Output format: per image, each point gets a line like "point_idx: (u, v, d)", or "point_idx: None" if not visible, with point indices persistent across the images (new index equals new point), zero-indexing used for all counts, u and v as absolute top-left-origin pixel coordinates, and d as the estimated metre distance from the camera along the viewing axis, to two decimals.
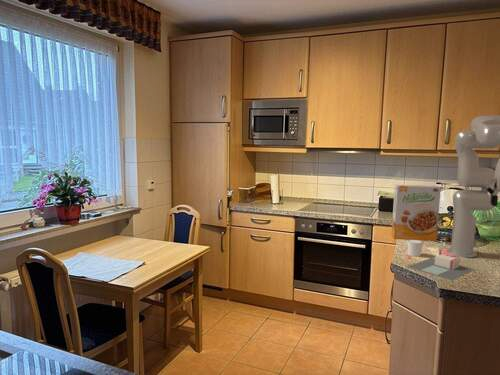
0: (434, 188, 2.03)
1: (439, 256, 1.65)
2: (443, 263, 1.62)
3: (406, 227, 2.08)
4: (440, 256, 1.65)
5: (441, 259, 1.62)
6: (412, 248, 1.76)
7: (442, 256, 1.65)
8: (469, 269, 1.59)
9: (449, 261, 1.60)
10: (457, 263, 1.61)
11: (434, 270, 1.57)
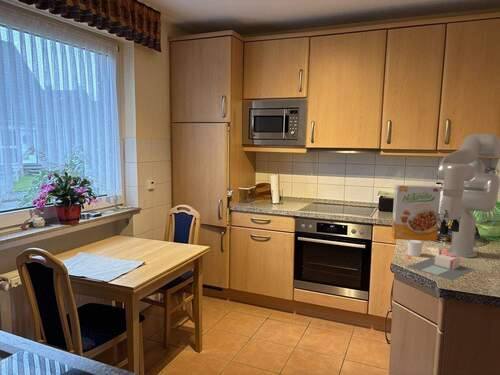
0: (434, 188, 2.03)
1: (439, 256, 1.65)
2: (443, 263, 1.62)
3: (406, 227, 2.08)
4: (440, 256, 1.65)
5: (441, 259, 1.62)
6: (412, 248, 1.76)
7: (442, 256, 1.65)
8: (469, 269, 1.59)
9: (449, 261, 1.60)
10: (457, 263, 1.61)
11: (434, 270, 1.57)
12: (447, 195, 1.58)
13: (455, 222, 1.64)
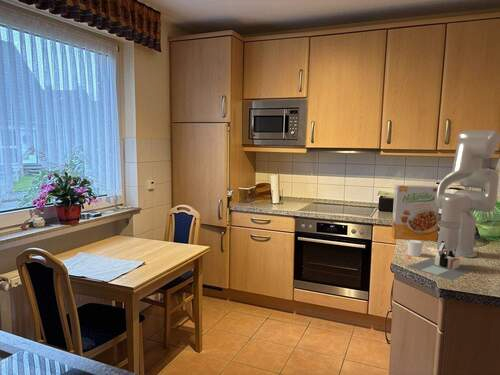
0: (434, 188, 2.03)
1: (439, 256, 1.65)
2: None
3: (406, 227, 2.08)
4: None
5: None
6: (412, 248, 1.76)
7: None
8: (469, 269, 1.59)
9: (449, 261, 1.60)
10: (457, 263, 1.61)
11: (434, 270, 1.57)
12: (444, 226, 1.59)
13: (450, 254, 1.64)
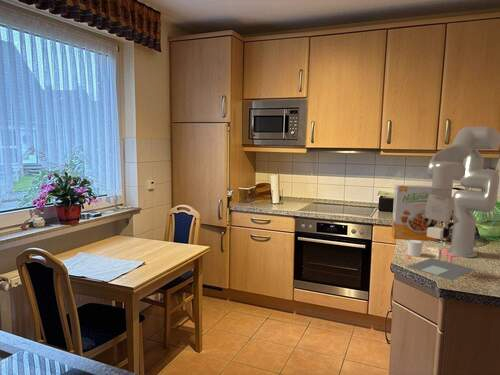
0: None
1: (437, 229, 1.53)
2: None
3: (406, 227, 2.08)
4: (436, 229, 1.53)
5: None
6: (412, 248, 1.76)
7: (434, 228, 1.54)
8: (469, 269, 1.59)
9: None
10: None
11: (434, 270, 1.57)
12: (450, 195, 1.50)
13: (432, 223, 1.57)
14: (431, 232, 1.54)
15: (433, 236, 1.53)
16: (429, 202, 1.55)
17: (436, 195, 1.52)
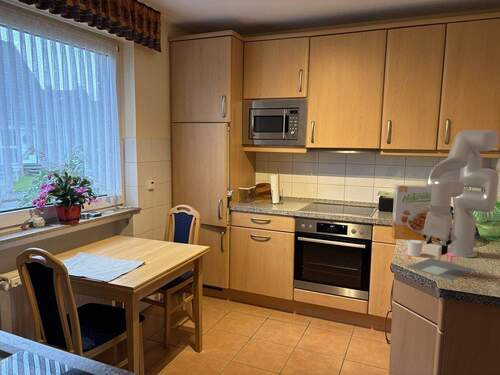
0: None
1: (435, 246, 1.53)
2: None
3: (406, 227, 2.08)
4: (435, 246, 1.54)
5: None
6: (412, 248, 1.76)
7: (432, 245, 1.55)
8: (469, 269, 1.59)
9: None
10: None
11: (434, 270, 1.57)
12: (448, 212, 1.51)
13: None
14: (429, 249, 1.54)
15: (431, 253, 1.54)
16: (428, 219, 1.56)
17: (434, 212, 1.52)
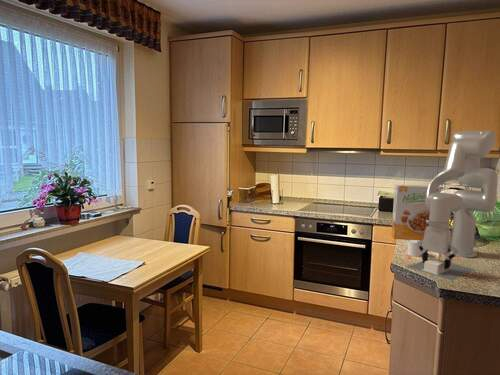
0: None
1: (434, 263, 1.55)
2: (442, 268, 1.55)
3: (406, 227, 2.08)
4: (434, 263, 1.55)
5: (441, 265, 1.54)
6: (412, 248, 1.76)
7: (431, 262, 1.56)
8: (469, 269, 1.59)
9: None
10: None
11: None
12: (447, 228, 1.52)
13: (426, 253, 1.60)
14: (428, 266, 1.56)
15: (430, 270, 1.55)
16: (427, 233, 1.57)
17: (433, 228, 1.53)
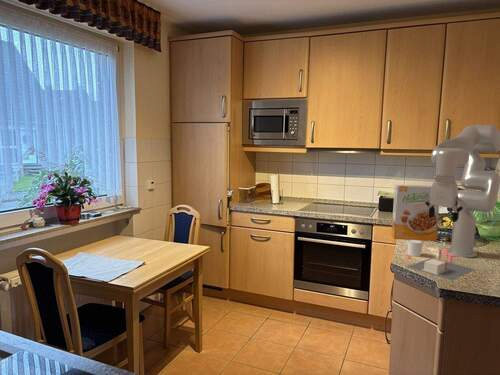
0: None
1: (434, 263, 1.55)
2: (442, 268, 1.55)
3: (406, 227, 2.08)
4: (434, 263, 1.55)
5: (441, 265, 1.54)
6: (412, 248, 1.76)
7: (431, 262, 1.56)
8: (469, 269, 1.59)
9: (445, 263, 1.56)
10: None
11: None
12: (454, 181, 1.53)
13: (433, 208, 1.62)
14: (428, 266, 1.56)
15: (430, 270, 1.55)
16: (433, 189, 1.57)
17: (440, 182, 1.54)
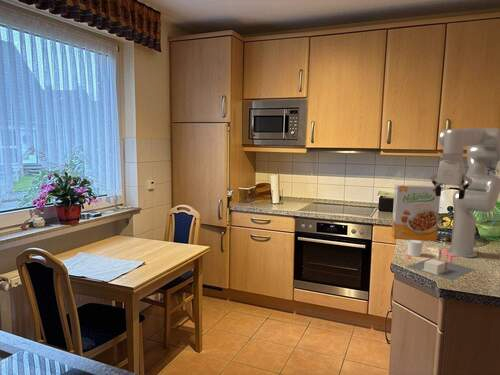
0: (434, 188, 2.03)
1: (434, 263, 1.55)
2: (442, 268, 1.55)
3: (406, 227, 2.08)
4: (434, 263, 1.55)
5: (441, 265, 1.54)
6: (412, 248, 1.76)
7: (431, 262, 1.56)
8: (469, 269, 1.59)
9: (445, 263, 1.56)
10: None
11: None
12: (461, 160, 1.57)
13: (439, 187, 1.66)
14: (428, 266, 1.56)
15: (430, 270, 1.55)
16: (441, 167, 1.62)
17: (447, 160, 1.58)
